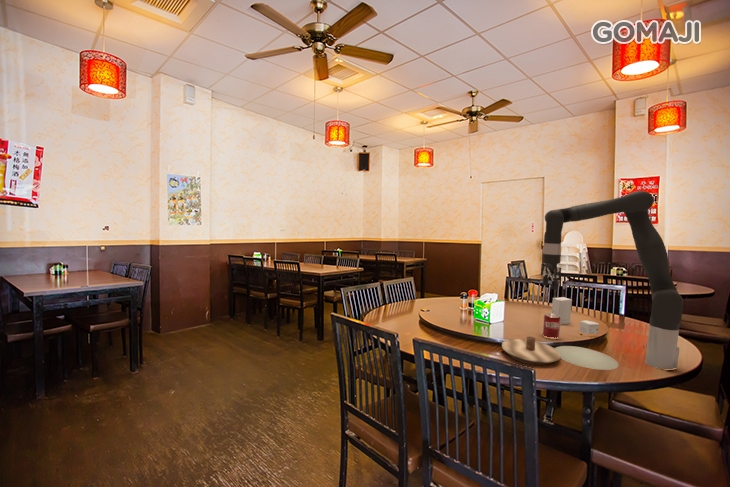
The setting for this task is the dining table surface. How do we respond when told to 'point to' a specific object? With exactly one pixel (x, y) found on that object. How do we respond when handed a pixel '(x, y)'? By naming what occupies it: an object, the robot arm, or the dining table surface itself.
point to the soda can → (551, 325)
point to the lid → (531, 350)
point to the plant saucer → (529, 361)
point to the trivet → (586, 358)
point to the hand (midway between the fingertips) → (549, 287)
